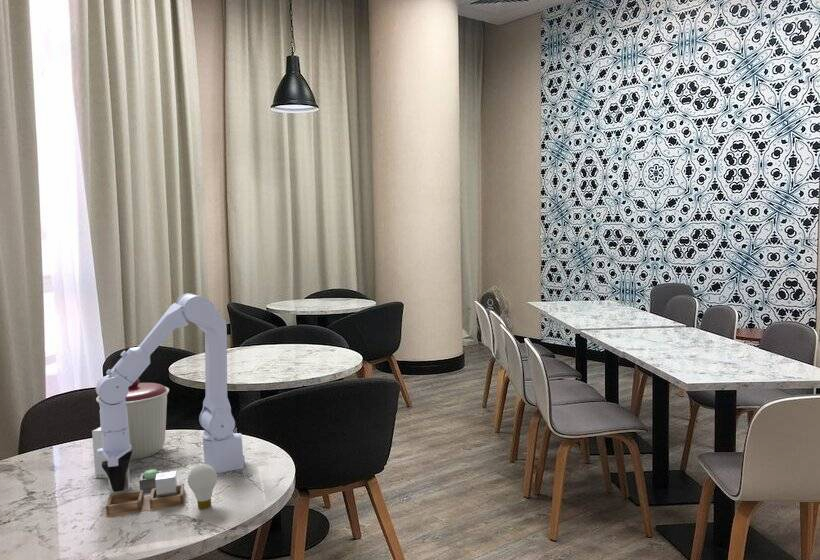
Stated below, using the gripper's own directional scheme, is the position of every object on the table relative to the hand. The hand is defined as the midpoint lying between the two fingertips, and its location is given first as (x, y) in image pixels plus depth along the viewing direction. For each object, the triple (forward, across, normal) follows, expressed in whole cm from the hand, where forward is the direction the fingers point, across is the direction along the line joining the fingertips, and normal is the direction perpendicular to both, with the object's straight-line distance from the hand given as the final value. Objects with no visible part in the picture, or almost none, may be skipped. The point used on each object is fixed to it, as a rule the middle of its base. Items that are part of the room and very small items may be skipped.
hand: (120, 487), depth 154 cm
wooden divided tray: (+2, +10, +6) cm, 12 cm away
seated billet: (+1, +10, +11) cm, 15 cm away
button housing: (+2, 0, +7) cm, 7 cm away
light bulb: (+2, +17, +18) cm, 25 cm away
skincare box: (+2, -15, -4) cm, 16 cm away
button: (+1, 0, +7) cm, 7 cm away
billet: (+1, 0, 0) cm, 1 cm away
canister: (+2, -29, +1) cm, 29 cm away
